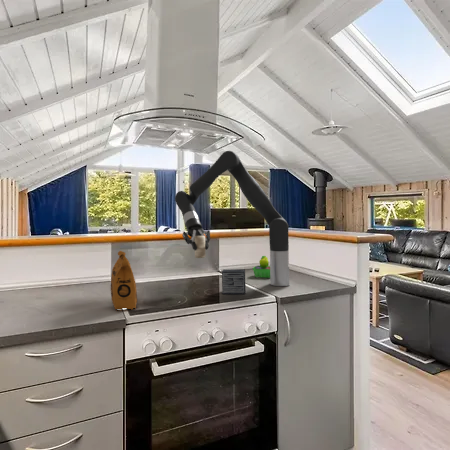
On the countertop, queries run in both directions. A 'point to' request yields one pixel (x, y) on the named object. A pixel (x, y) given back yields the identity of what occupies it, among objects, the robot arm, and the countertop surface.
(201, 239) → the birch cylinder
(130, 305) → the coffee package
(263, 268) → the fruit basket
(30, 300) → the countertop surface
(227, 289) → the small box
